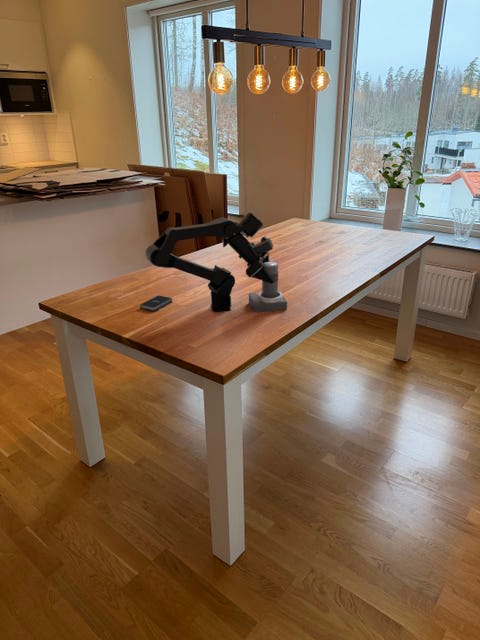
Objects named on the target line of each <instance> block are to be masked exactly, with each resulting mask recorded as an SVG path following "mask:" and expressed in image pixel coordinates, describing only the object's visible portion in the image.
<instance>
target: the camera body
mask: <svg viewBox="0 0 480 640" xmlns="http://www.w3.org/2000/svg"><path fill="white" fill-rule="evenodd" d="M283 295H284V294H283V293H282V292H281V291H279V290H278V297H276V298H265V297H262V291H259V292H258V294H257V292H249V293H248V305H250V306H249V307H250V308H251V309H252V312H253V313H262V312H263V313H265V312H276V311H287V310H288V308H287V307H288V301H287V299H286V298H285V296H283Z"/></svg>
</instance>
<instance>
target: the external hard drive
mask: <svg viewBox="0 0 480 640" xmlns="http://www.w3.org/2000/svg"><path fill="white" fill-rule="evenodd" d="M171 303H173V298H172V297H169V296H163V295H160V294H159V295H156V296H153V297H152V298H150V299H148V300H146V301H144V302H141V303H140V304H139V309H140V310H142V309H143V311H147V312H150V313H151V312H152V313H155V312H157V311H159V310H161V309H162V308H164V307H167V306H168V305H170V304H171Z"/></svg>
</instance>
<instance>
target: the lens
mask: <svg viewBox="0 0 480 640" xmlns="http://www.w3.org/2000/svg"><path fill="white" fill-rule="evenodd" d="M264 264H265V270H266V272H267V273H268V274H269V275H270V277H271V278H272V280H273V281H274V283H272V284H270V283H268V282H265V281H262V280H261V282H262V283H261V287H262V288H261V292H262V297H265V298H276V297H278V291H279V264H278V263H277V262H273V261H270V262H265V263H264ZM264 264H263V265H264Z"/></svg>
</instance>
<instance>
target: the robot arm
mask: <svg viewBox="0 0 480 640" xmlns="http://www.w3.org/2000/svg"><path fill="white" fill-rule="evenodd" d="M261 228H264V224H263V222H262V221H261V220H260V219H258V218H257V217H256V216H255V215H254V214H253V213H252V212H248V213H247V214H246V215H245V216H244V218H243V219H242V220H241V221H240V222H236V221H233V220H231V219H228V218H226V217H219V218H216V219H215V218H214V219H213V220H211V221H209V222H206V223H199V224H192V225H184V226H177V227H173V226H171V227H168V228H167V229H165V231H164V232H163V233H162V234H161V235H160V236H159V237H158V238H156V239H155V240H154V242H153V243H152V244H151V245H149V246H148V247H147V248H146V250H145V253H144V254H145V258H146V259H147V261H149V262H150V263H151V264H152V265H153V266H154V267H158V268H164V269H169V268H170V269H175V270H179V271H181V272H183V273H184V272H185V273H187V274H190V275H193V276H196V277H199V278H201V279H204V280H207V281H209V282H208V283H207V286H208V290H210V301H211V302H210V308H211V312H213V313H215V312H216V313H217V312H226V311H227V312H228V311H231V307H232V296H231V294H232V290H233V287H234V286H235V285H236V279H235V276H234V275H233V274H232V272H231V271H229V270H228V269H226V268H225V267H219V266H218V265H216V264H215V265H214V266H213V267H214V268H213V267H212V268H211V267H207V266H204V265H201V264H199V263H196V262H193V261H192V260H191V261H190V260H188V259H184V258H183V257H180V256H177V255H174V254H173V253H172V252H173V250H174V248H175V246H176V244H178V242H179V241H184V240H192V239H199V238H207V237H216V238H223V239H222V241H221V242H222V247H223V248H225V247H227V246H228V245H229V246H230V248H232V249H233V250H234V251H235V252H236V253H237V254H238V258H239V259H243V261H245V263H246V266H247V267H246V270H245V275H246V276H247V277H249V278H252V279H257V280H260V281H261V282H262V281H265V282H268V283H270V284H272V283H274V281H273V280H272V278H271V277H270V275H269V274H268V273H267V272H266V270H265V264H264V263H265V262H271V260H270V253H269V252H270V251H272V250H273V248H274V245H273V243H272V241H273V240H272V239H271V238H270V237H267V236H263V237H261V238H260V241H259V242H258V243H255V242H250V241H249V240H248V238H253V237H254V236H255V235H256V234H257V233H258V232H259V231H260V230H261ZM263 264H264V265H263Z"/></svg>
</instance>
